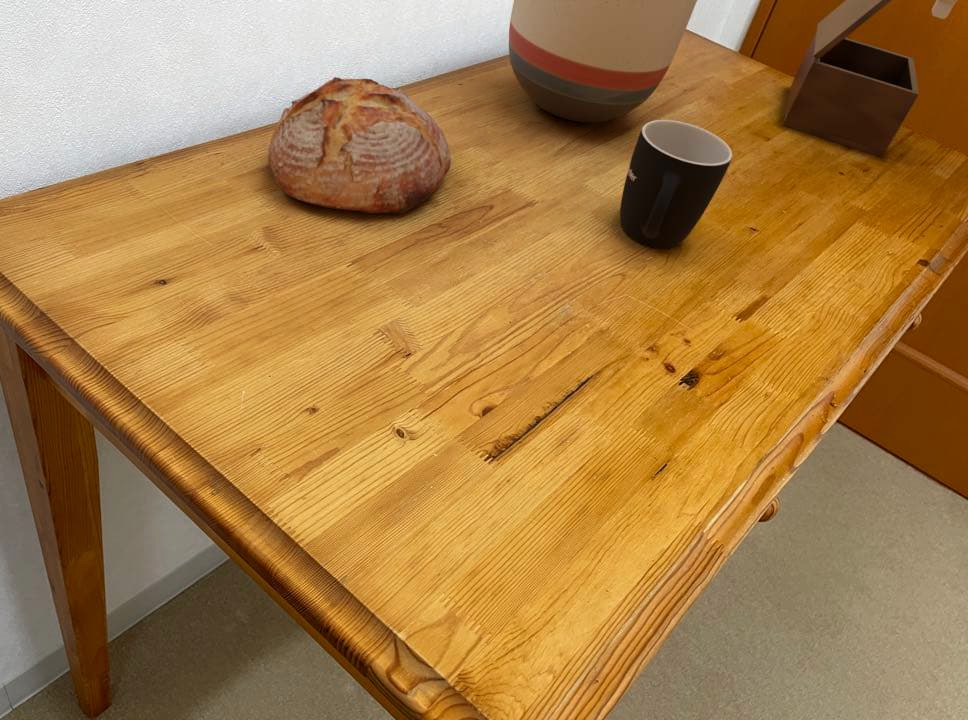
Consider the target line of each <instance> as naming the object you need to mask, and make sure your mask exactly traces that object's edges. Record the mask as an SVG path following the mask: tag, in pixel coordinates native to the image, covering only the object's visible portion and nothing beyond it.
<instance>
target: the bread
mask: <svg viewBox="0 0 968 720" xmlns="http://www.w3.org/2000/svg"><path fill="white" fill-rule="evenodd" d="M446 138H447V137H446V136H445V134H444V132H443V130H442V128H441V127H440V126H439V124H438V123H437V121H436V120H435V119H434V118H433V116H432V115H430V114H429V113H428V112H427V111H426V110H425V109H423V108H422V107H421V106H420V105H419V104H417V103H416V102H415V101H413V100H412V99H411V98H410V97H409V95H407V94H406V92H405V91H404V90H402V89H401V88H394V87H393V88H392V87H389V86H386V85H384V84H379V82H377V81H375V80H373V79H372V78H348V77H347V78H341V77H337V76H334V77H333V78H332V79H329V80H328V81H326V82H324V83H323V85H320V86H319V87H318V88H316V89H314V90H313V91H311V92H307V93H306V94H304V95H302V96H301V97H300V98H297V99H295V100H292V101H291V106H289V107H288V108H287V107H286V108H285V109H283V111H282V113H281V115H280V118H279V120H278V122H277V123H276V125H275V129H274V131H273V132H272V136H271V138H270V142H269V143H270V144H269V147H268V151H267V152H268V155H267V163H268V166H269V168H270V171H271V173H272V175H273V180H274V181H275V183H276V185H277V187H278V188H279V189H280V190H281V191H282V192H283V193H284V194H287V195H288V196H290V197H292V198H294V199H296V200H298V201H301V202H303V203H307V204H310V205H313V206H318V207H322V208H327V209H334V210H341V211H342V210H343V211H352V212H363V213H366V214H394V215H396V214H397V215H402V214H406V213H407V212H408V211H410V210H411V209H413V208H415V207H417V206H419V205H421V204H422V203H423V202H424V201H426V200H427V199H429V198H430V197H431V196H432V195H433V194H434V193H435V191H436V190H437V189H438V188H439V186H440V185H441V183H442V182H443V180H444V177H445V176H446V175H447V174H448V172H449V171H450V168H451V164H452V158H451V153H450V148H449V144H448V141H447V139H446Z"/></svg>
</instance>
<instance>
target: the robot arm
mask: <svg viewBox="0 0 968 720" xmlns="http://www.w3.org/2000/svg"><path fill="white" fill-rule="evenodd" d="M958 1H959V0H935V2H934V4H933V7H932V8H931V15H932V16H933V17H934V18H937V19H942V20H945V19H946V18H948V17H949V15H950V13H951V12H952V9H953V7H954V6H955V4H956V3H957V2H958Z"/></svg>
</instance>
